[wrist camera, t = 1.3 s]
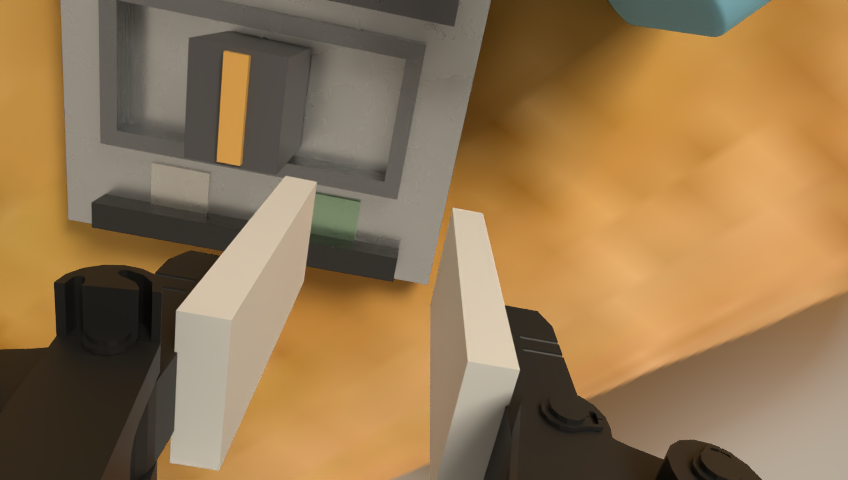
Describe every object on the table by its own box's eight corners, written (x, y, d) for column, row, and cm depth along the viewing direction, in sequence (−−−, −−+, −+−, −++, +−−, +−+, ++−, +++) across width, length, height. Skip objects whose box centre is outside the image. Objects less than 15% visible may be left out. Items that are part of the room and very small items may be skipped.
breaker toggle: (228, 31, 28) (185, 38, 23) (311, 48, 29) (286, 58, 24) (221, 132, 30) (181, 159, 25) (299, 147, 30) (274, 177, 26)
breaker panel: (79, -154, 27) (31, -174, 24) (500, -61, 29) (509, -68, 25) (88, 207, 34) (50, 230, 31) (428, 269, 35) (427, 298, 32)
